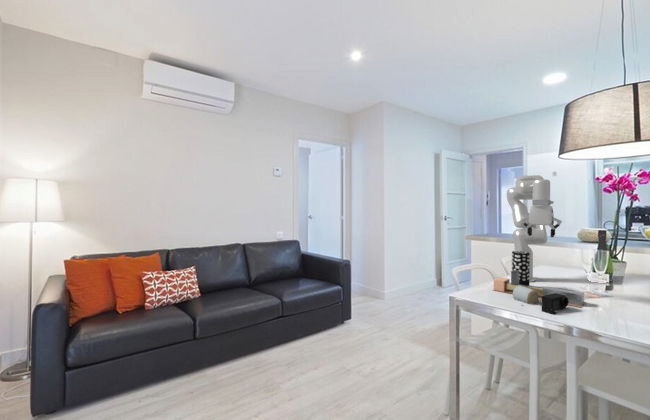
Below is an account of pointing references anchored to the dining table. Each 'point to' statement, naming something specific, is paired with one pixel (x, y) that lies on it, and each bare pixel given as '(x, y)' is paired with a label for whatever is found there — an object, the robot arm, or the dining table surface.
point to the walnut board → (538, 298)
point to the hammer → (516, 282)
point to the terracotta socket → (500, 284)
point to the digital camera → (554, 303)
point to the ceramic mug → (525, 295)
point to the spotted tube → (521, 266)
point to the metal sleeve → (572, 296)
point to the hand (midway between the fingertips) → (540, 236)
